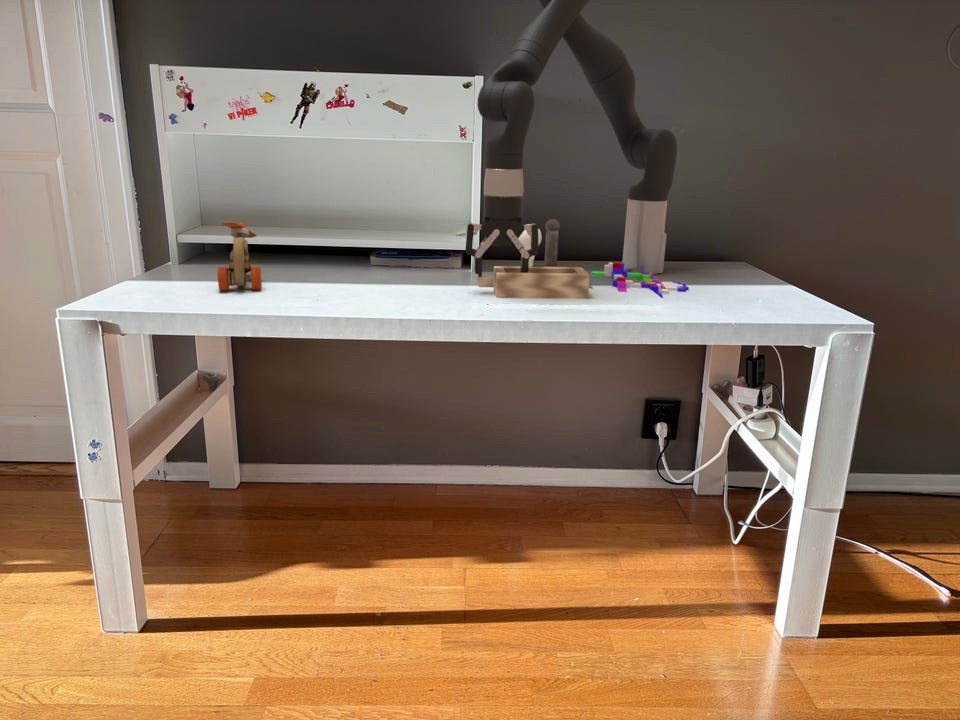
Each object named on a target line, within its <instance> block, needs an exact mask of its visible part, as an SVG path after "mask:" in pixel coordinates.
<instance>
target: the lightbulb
mask: <svg viewBox="0 0 960 720" xmlns="http://www.w3.org/2000/svg"><path fill="white" fill-rule="evenodd" d="M531 224H532V223H530V224H529V223H528V224H526V225H531ZM542 238H543V237H542V231H541V230H540V228H538V247H539V246H540V244H541V243H542ZM518 239H519V241H520V242H521V243H522V245H523V246H524V248H525V249H526V250H529V249H531V236H529V235H528V234H527V231H526V230H524V231H523V233H522V234H521V236H520V237H519V238H518ZM520 254H521V253H520ZM521 256H522V254H521ZM535 256H536V255H534V256H531V257H530V258H529V267H534V260H535Z"/></svg>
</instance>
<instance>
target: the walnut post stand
mask: <svg viewBox="0 0 960 720" xmlns="http://www.w3.org/2000/svg"><path fill="white" fill-rule="evenodd" d="M560 229H561V226H560V222H559V221H558V220H557V219H549V220H547V222H546V223H545V248H544V249H545V250H544V266H543V267H558V266H557V265H558V263H557V262H558V245H559V230H560ZM476 280H477V283H478V287H479V288H493V286H494V276H482V277H478V276H476ZM589 289H592V290H593V289H595V288H594V287H593V286H592V285H591V284H590V283H589Z"/></svg>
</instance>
